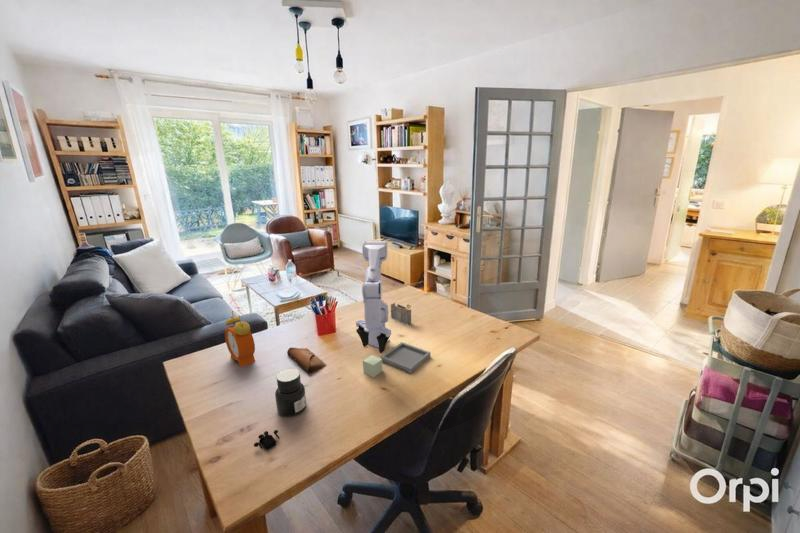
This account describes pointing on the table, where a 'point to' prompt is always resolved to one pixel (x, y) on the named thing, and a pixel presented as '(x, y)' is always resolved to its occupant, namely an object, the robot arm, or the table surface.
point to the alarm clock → (240, 341)
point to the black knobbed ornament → (266, 440)
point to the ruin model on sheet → (401, 313)
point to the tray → (405, 357)
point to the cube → (372, 366)
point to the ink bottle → (290, 393)
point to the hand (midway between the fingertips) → (373, 348)
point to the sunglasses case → (306, 359)
